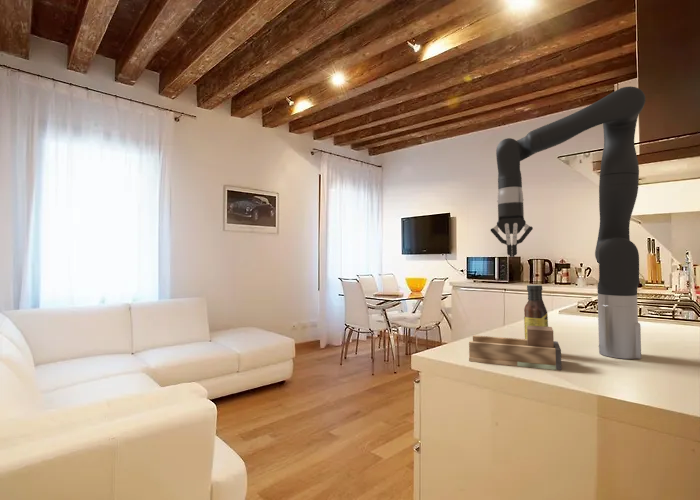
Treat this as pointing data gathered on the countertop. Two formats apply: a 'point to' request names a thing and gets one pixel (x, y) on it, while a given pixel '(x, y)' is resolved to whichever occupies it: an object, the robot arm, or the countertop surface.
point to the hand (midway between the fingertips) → (512, 256)
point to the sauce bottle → (535, 308)
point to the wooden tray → (514, 353)
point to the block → (540, 336)
